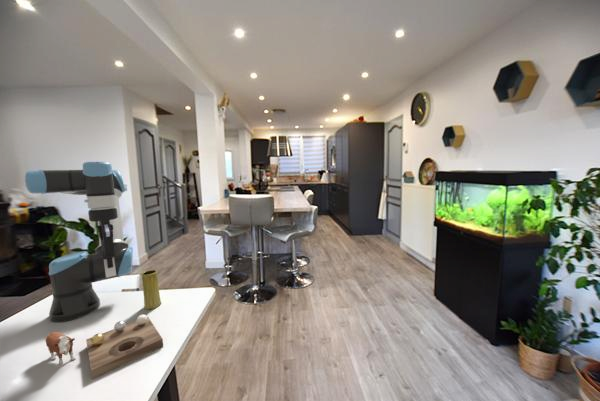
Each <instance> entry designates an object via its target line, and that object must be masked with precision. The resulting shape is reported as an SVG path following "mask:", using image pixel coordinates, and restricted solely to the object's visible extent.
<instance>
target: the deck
mask: <svg viewBox="0 0 600 401" xmlns="http://www.w3.org/2000/svg"><path fill="white" fill-rule="evenodd" d="M101 334H103V335H104V341H103V342H102V343H101V344H100V345H97V346H94V345H92V344H91V339H92V337H89V338H86V341H85V342H86V348H87V354H88V361H89V368H90V373H91V379H92V380H94V379H97V378H99V377H100V376H103V375H104V374H107V373H109V372H112V371H114V370H115V369H118V368H120V367H122V366H125V365H126V364H128V363H130V362H133V361H135V360H137V359H140V358H141V357H143V356H145V355H148V354H150V353H152V352H154V351H157V350H159V349H161V348H163V347H164V341H163V340H164V339H163V338H162V335H160V332H159V331H158V330H157V329H156V327H155V325H154V323H153V322H152V320H151V319H150V317H149V316H147V322H146V323H145V324H143V325H139V324H137V322H136V320H135V321H132V322H129V323H127V324H126V327H125V329H124V330H123V331H121V332H116V331H115V330H114V328H113V329H111V330H108V331H105V332H103V333H101Z"/></svg>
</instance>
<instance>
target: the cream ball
mask: <svg viewBox="0 0 600 401" xmlns="http://www.w3.org/2000/svg"><path fill="white" fill-rule="evenodd" d="M147 317H148V316H147V315H146V314H140V315H138V316H137V318H136V320H135V321H136V322H137V324H139V325H143V324H145V323H146V322H147Z"/></svg>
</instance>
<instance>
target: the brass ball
mask: <svg viewBox="0 0 600 401" xmlns="http://www.w3.org/2000/svg"><path fill="white" fill-rule="evenodd" d="M91 338H92V339H91V344H92V345H94V346H97V345H100V344H101V343H102V342H103V341H104V335H103V334H102V333H96V334H94V335H93V336H92V337H91Z"/></svg>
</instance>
